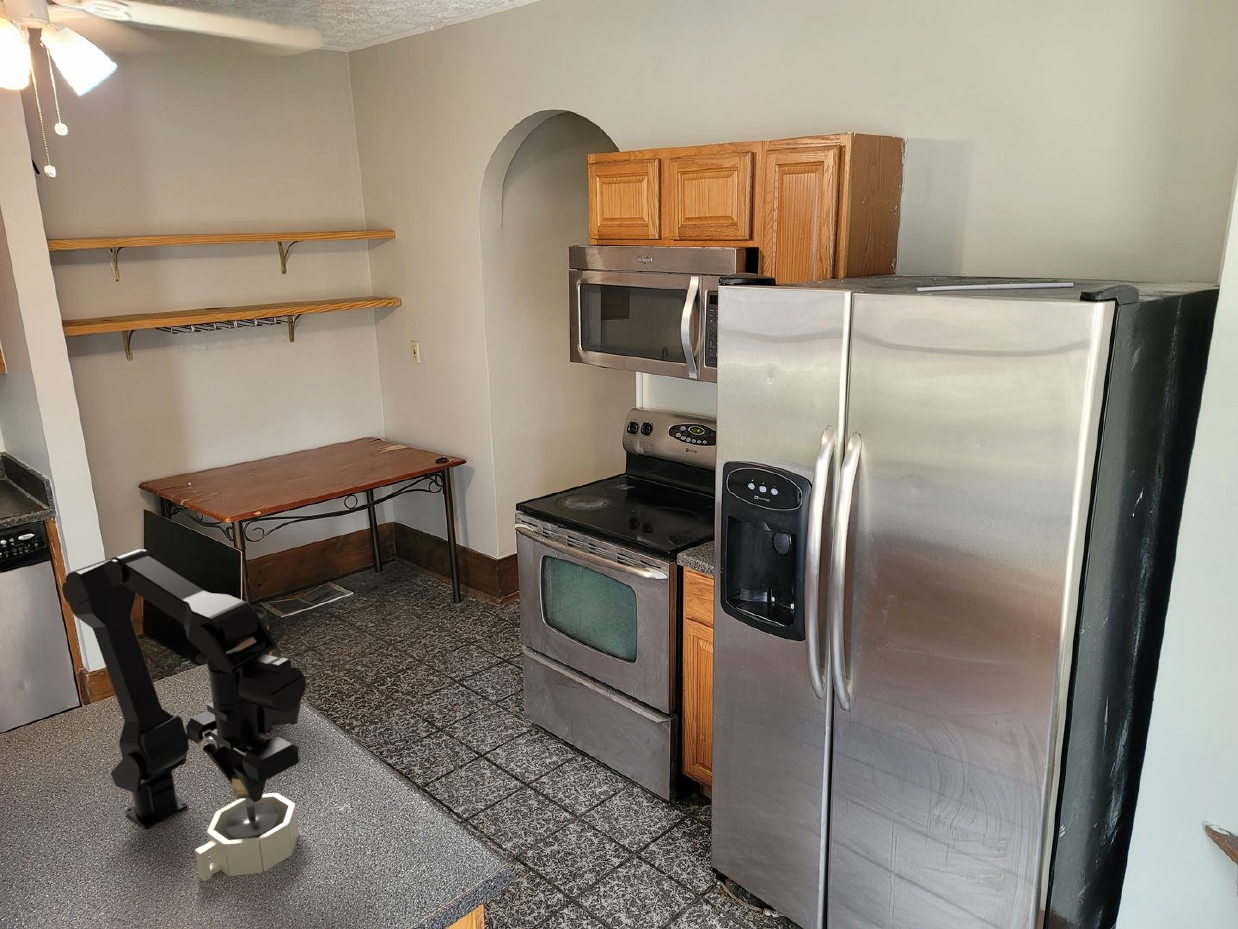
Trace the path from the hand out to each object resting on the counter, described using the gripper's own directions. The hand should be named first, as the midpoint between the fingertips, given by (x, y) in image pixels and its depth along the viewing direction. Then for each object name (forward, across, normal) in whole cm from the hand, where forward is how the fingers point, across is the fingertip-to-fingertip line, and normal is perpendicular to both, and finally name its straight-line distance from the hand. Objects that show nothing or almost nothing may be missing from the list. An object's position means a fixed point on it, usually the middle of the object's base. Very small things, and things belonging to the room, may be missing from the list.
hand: (248, 795), depth 124 cm
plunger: (+5, 0, 0) cm, 5 cm away
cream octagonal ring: (+9, 0, +1) cm, 9 cm away
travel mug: (+9, +32, -20) cm, 39 cm away
